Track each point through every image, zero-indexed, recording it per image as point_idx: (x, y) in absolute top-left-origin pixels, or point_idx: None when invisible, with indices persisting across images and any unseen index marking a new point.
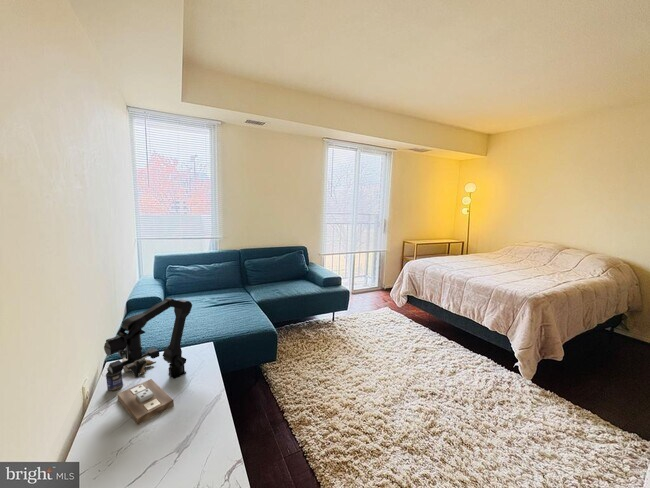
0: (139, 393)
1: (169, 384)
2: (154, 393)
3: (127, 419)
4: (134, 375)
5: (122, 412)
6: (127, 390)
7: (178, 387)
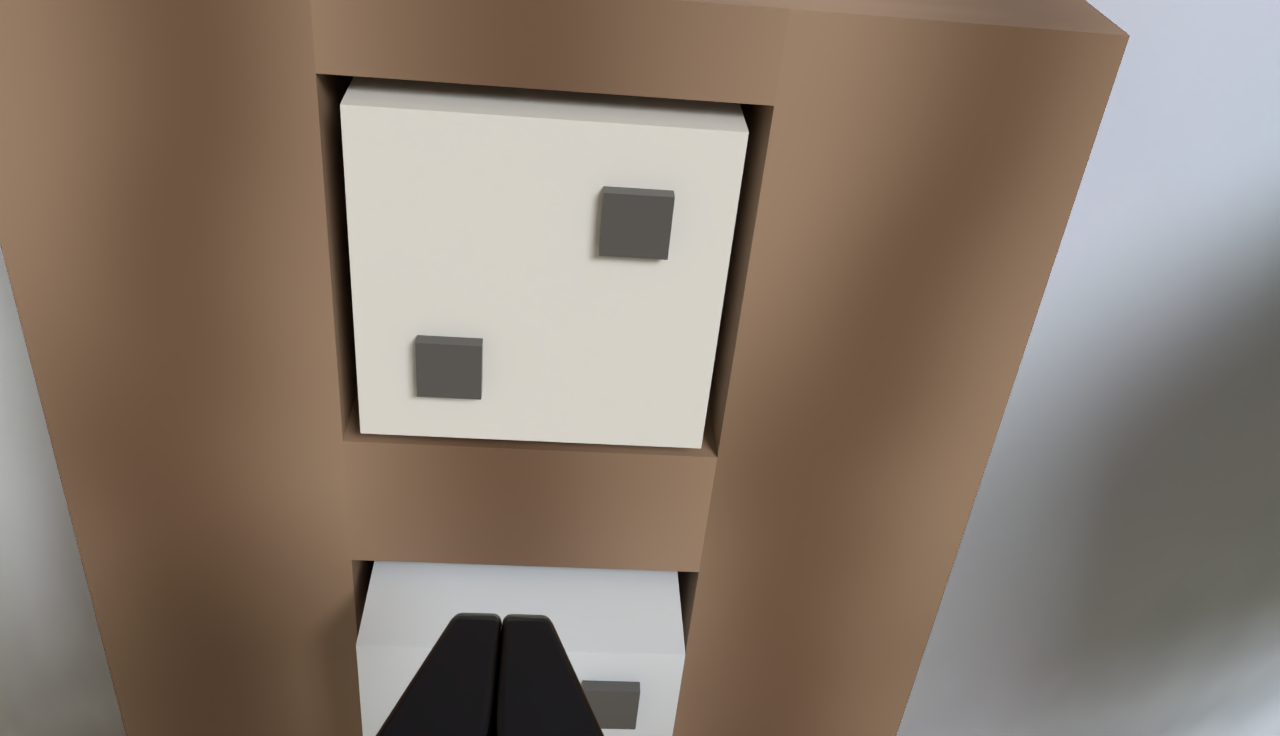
0: None
1: (1228, 375)
2: (715, 722)
3: None
4: (419, 668)
5: None
6: (263, 56)
7: (1201, 606)
